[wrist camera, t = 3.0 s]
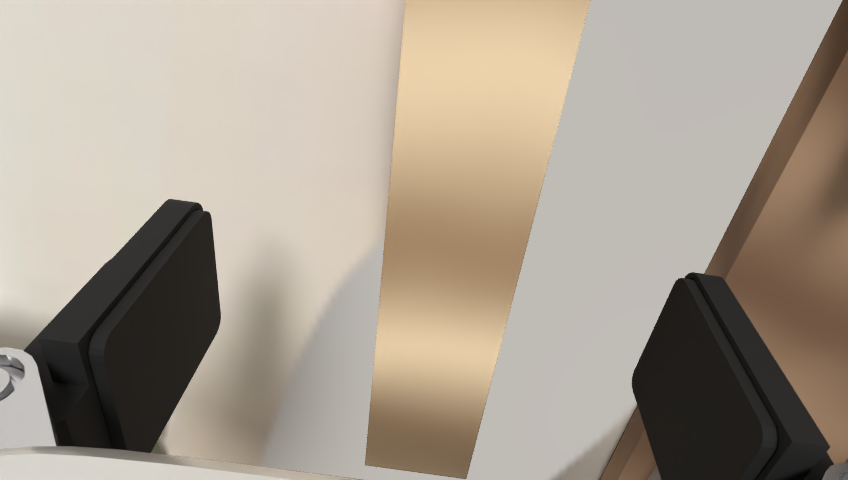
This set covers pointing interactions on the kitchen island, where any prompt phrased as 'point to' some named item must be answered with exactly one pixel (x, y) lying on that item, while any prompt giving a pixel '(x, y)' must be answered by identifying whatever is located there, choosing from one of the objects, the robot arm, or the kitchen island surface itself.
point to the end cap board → (791, 255)
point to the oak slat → (461, 213)
